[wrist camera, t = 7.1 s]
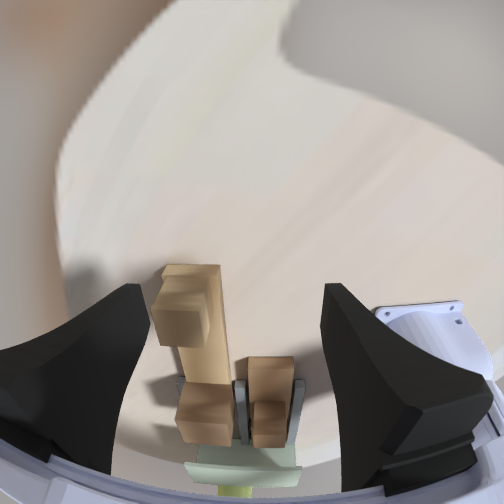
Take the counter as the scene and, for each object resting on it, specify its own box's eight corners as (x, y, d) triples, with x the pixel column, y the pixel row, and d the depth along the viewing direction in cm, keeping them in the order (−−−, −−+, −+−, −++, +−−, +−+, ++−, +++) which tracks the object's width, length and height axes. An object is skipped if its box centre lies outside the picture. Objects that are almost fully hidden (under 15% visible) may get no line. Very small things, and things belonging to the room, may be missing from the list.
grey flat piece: (304, 379, 27) (306, 391, 26) (294, 438, 33) (294, 447, 31) (178, 376, 28) (175, 387, 26) (197, 435, 33) (196, 444, 32)
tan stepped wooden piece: (219, 264, 21) (207, 311, 17) (233, 397, 29) (228, 440, 24) (167, 264, 22) (142, 308, 17) (196, 395, 29) (187, 437, 24)
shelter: (298, 418, 30) (302, 469, 24) (294, 441, 33) (296, 486, 27) (193, 415, 31) (183, 465, 25) (201, 439, 34) (194, 482, 28)
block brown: (293, 356, 25) (297, 405, 21) (287, 407, 29) (289, 449, 24) (248, 357, 26) (245, 406, 21) (250, 407, 29) (248, 449, 24)
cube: (231, 384, 25) (227, 424, 21) (234, 409, 27) (231, 446, 23) (184, 381, 26) (174, 419, 22) (192, 407, 28) (184, 442, 24)
